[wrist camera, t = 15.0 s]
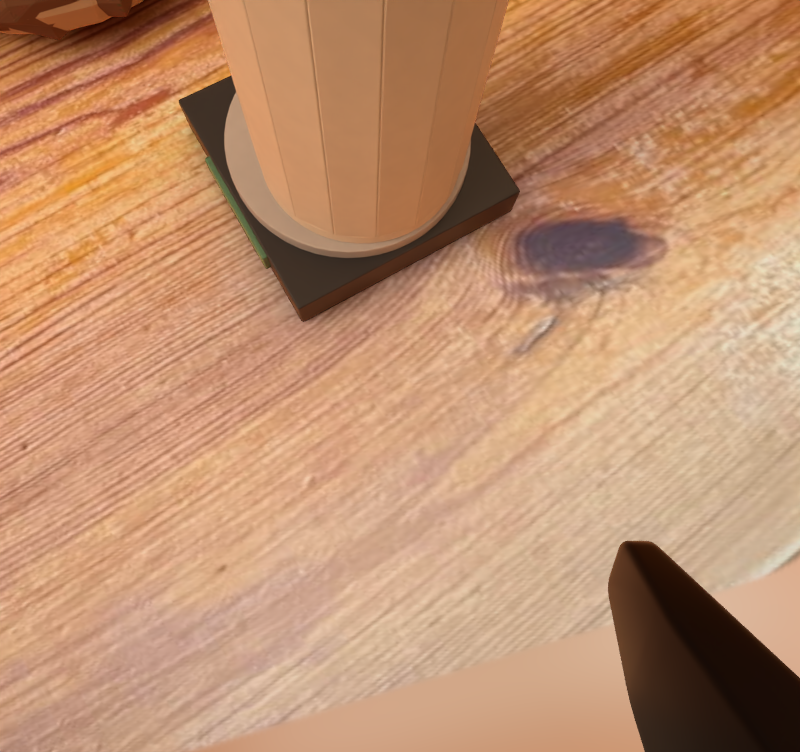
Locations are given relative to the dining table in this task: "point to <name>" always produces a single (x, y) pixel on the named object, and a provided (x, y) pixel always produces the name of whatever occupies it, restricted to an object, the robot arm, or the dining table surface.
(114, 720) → the dining table surface
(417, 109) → the canister
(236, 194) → the scale
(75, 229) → the dining table surface
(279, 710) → the dining table surface
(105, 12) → the donut
